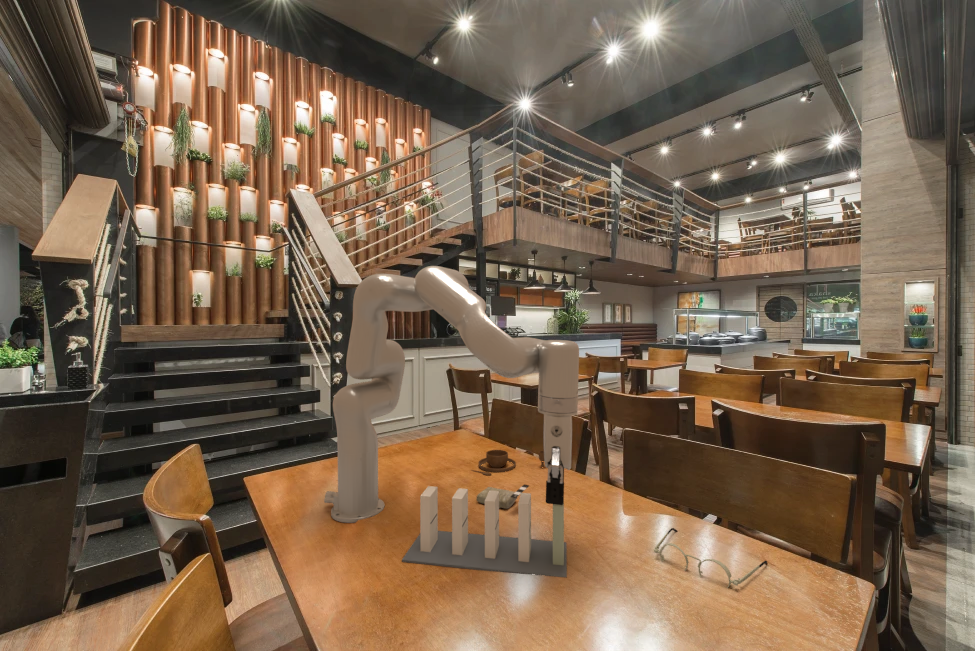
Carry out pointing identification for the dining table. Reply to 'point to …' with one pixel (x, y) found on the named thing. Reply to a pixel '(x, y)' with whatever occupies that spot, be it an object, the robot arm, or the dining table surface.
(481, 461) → the place setting
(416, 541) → the mat
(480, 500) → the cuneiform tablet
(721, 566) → the eyeglasses
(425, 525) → the domino
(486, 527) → the domino
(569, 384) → the robot arm
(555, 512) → the end domino
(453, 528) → the domino
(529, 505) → the domino
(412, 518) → the dining table surface
